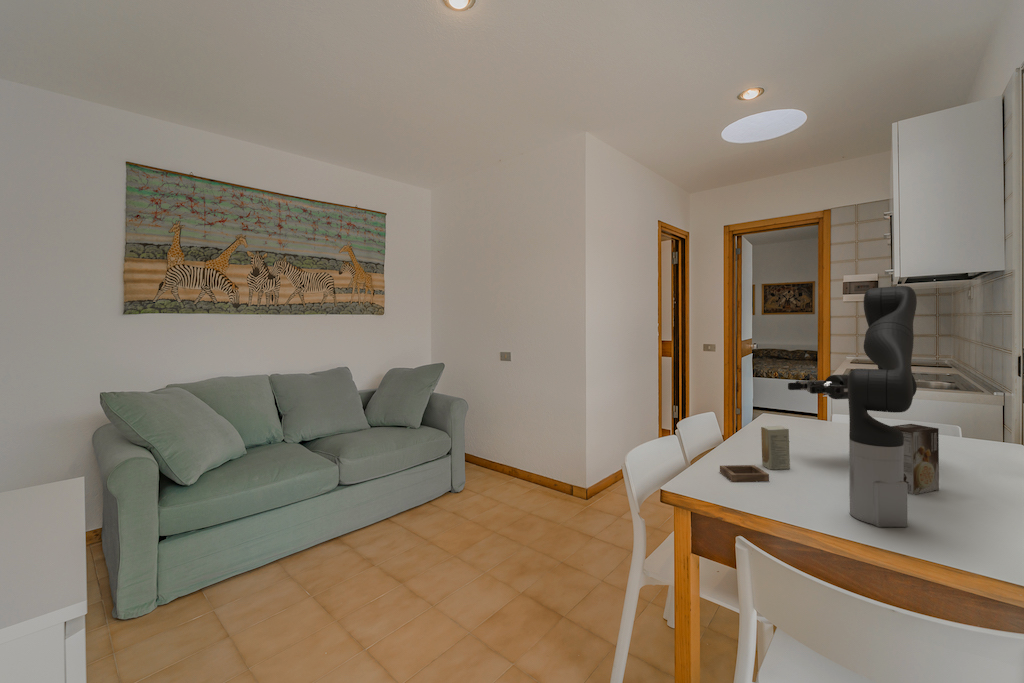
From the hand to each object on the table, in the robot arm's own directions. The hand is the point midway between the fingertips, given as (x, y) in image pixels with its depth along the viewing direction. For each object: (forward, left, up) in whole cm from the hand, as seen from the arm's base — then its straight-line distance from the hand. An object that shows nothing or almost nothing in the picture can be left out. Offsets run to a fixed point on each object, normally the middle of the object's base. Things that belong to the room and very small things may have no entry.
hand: (799, 388), depth 131 cm
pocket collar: (-9, +21, -24) cm, 33 cm away
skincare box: (-1, +8, -24) cm, 25 cm away
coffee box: (-19, -17, -24) cm, 35 cm away
